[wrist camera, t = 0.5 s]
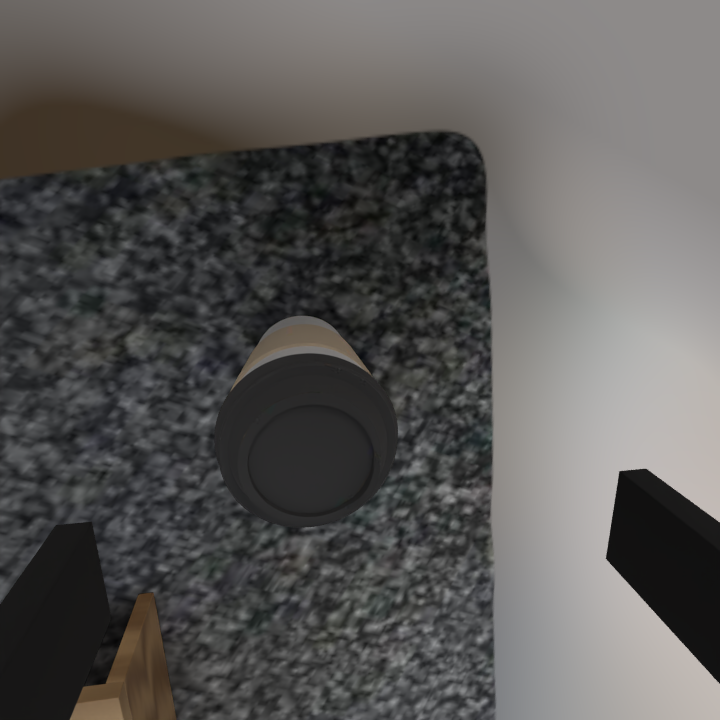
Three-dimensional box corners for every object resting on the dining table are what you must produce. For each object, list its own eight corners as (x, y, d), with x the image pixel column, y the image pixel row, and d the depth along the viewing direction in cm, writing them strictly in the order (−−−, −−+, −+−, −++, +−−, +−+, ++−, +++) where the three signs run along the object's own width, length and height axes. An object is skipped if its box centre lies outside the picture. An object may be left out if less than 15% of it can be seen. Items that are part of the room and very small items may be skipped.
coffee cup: (216, 388, 37) (172, 510, 22) (272, 277, 35) (263, 335, 21) (326, 436, 39) (350, 574, 25) (385, 335, 37) (445, 422, 23)
